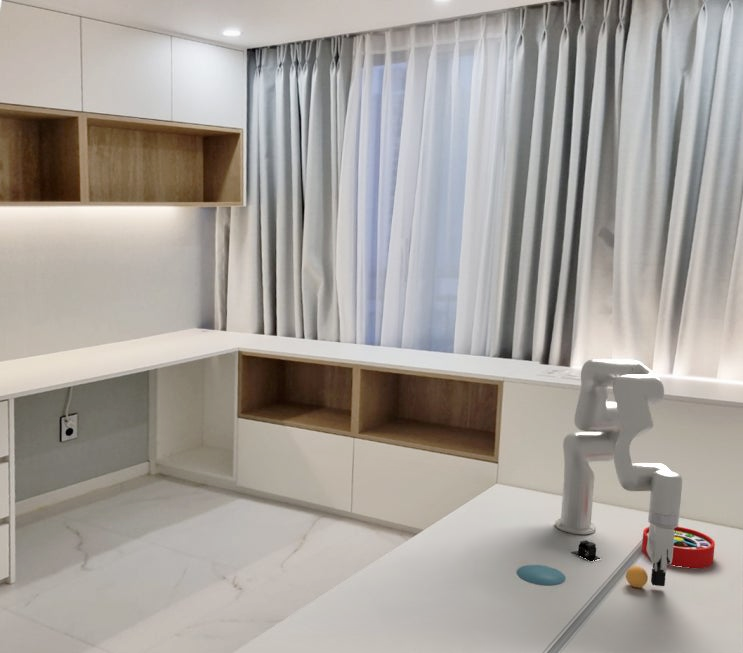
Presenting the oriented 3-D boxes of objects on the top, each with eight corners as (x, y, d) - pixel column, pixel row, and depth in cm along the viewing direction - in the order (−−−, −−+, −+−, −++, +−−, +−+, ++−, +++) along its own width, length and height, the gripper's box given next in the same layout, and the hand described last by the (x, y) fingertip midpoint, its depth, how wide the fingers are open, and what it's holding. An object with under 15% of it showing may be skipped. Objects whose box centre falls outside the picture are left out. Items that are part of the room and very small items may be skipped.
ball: (623, 581, 213) (625, 561, 213) (645, 583, 212) (646, 564, 212) (626, 589, 208) (628, 569, 207) (648, 592, 207) (650, 572, 206)
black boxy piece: (562, 552, 233) (563, 537, 233) (579, 548, 237) (580, 533, 237) (595, 567, 223) (596, 552, 223) (612, 563, 227) (613, 548, 227)
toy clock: (663, 520, 248) (726, 540, 233) (662, 538, 249) (724, 559, 234) (630, 533, 235) (695, 555, 220) (628, 552, 235) (693, 575, 220)
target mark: (516, 563, 222) (517, 562, 222) (563, 568, 220) (564, 568, 220) (516, 581, 209) (516, 581, 209) (566, 588, 207) (566, 587, 207)
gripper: (643, 507, 215) (638, 571, 217) (654, 526, 200) (648, 594, 202) (672, 510, 214) (666, 574, 216) (684, 529, 199) (678, 598, 201)
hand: (657, 584), depth 209 cm, fingers closed
